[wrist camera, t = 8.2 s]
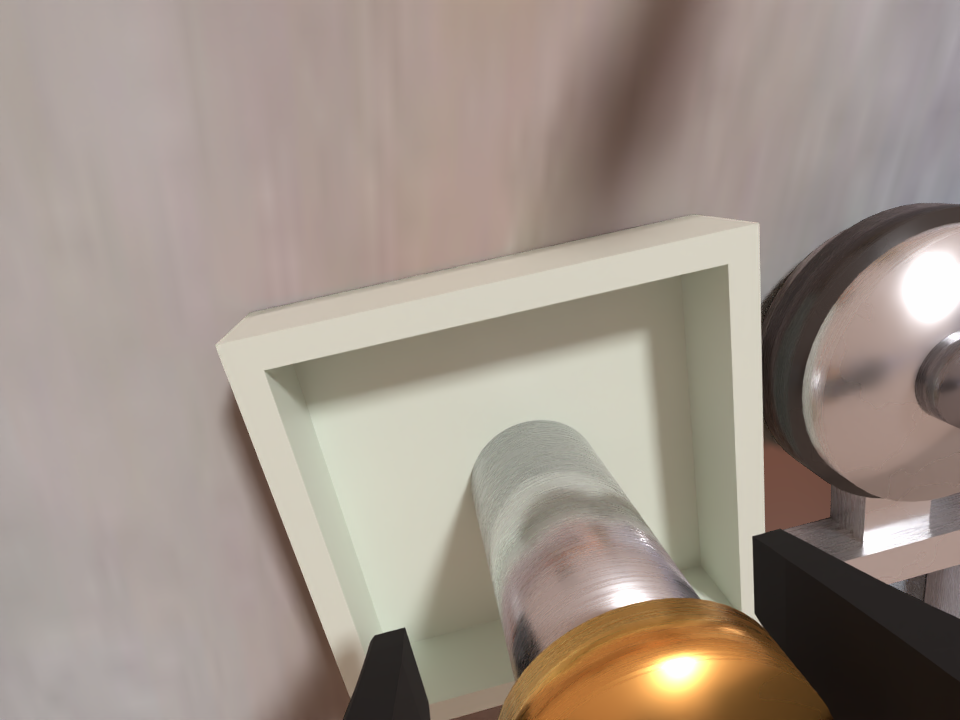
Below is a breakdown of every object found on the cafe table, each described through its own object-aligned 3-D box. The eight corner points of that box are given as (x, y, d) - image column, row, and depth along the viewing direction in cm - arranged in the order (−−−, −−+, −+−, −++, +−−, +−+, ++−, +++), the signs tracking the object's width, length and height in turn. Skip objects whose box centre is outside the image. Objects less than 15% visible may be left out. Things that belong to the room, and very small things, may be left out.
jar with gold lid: (628, 402, 17) (880, 651, 8) (602, 548, 18) (789, 887, 9) (456, 399, 16) (528, 672, 7) (446, 552, 17) (493, 927, 9)
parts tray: (693, 214, 16) (759, 222, 13) (714, 566, 20) (766, 631, 17) (250, 312, 15) (215, 345, 12) (371, 658, 19) (367, 742, 16)
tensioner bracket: (1014, 173, 17) (1183, 173, 13) (949, 658, 23) (1048, 745, 20) (734, 236, 16) (831, 254, 12) (751, 716, 23) (816, 816, 19)
